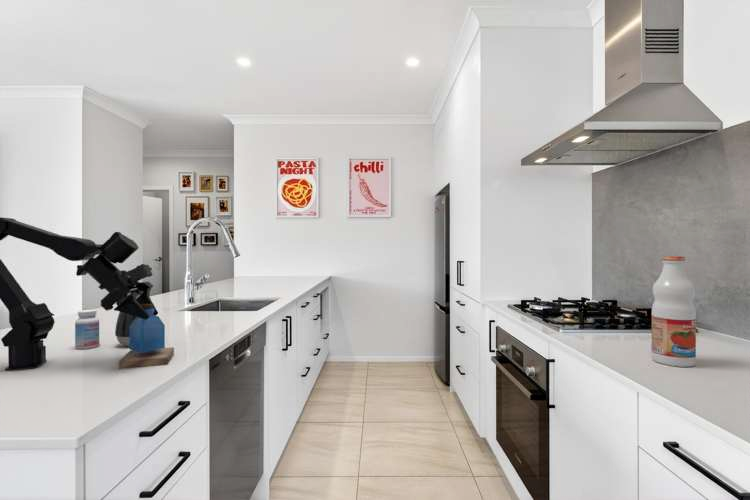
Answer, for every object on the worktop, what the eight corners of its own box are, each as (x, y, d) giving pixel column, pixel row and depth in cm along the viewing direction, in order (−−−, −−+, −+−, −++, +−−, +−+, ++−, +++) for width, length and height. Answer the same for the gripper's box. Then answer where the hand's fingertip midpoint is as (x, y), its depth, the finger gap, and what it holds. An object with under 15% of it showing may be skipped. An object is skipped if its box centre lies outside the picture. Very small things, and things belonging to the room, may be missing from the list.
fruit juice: (664, 355, 113) (665, 255, 112) (703, 364, 104) (704, 256, 104) (643, 359, 109) (644, 256, 108) (682, 369, 100) (683, 257, 100)
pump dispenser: (141, 348, 122) (141, 298, 122) (107, 348, 122) (107, 298, 122) (159, 340, 132) (159, 294, 132) (128, 340, 132) (128, 294, 132)
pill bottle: (86, 350, 121) (86, 312, 120) (70, 349, 122) (69, 312, 122) (104, 345, 126) (104, 309, 126) (88, 344, 128) (87, 309, 128)
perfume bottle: (140, 352, 105) (140, 306, 104) (129, 349, 108) (129, 304, 108) (164, 347, 110) (164, 304, 110) (152, 344, 113) (153, 302, 113)
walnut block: (119, 371, 102) (118, 361, 102) (130, 359, 112) (130, 350, 112) (167, 366, 106) (167, 357, 105) (173, 355, 116) (173, 347, 116)
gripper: (114, 255, 99) (162, 299, 101) (145, 253, 117) (185, 291, 119) (79, 287, 98) (128, 331, 99) (116, 280, 116) (157, 318, 118)
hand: (152, 316), depth 109 cm, fingers closed on perfume bottle, 6 cm apart
